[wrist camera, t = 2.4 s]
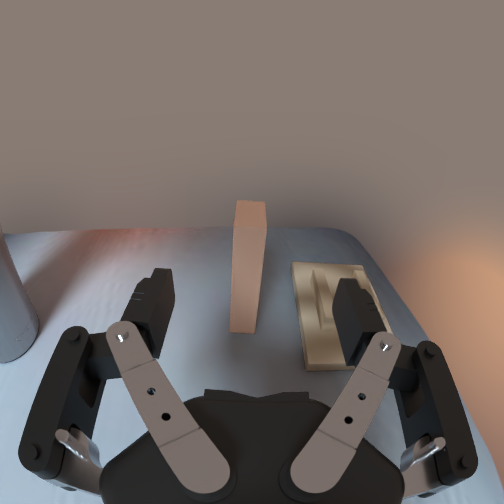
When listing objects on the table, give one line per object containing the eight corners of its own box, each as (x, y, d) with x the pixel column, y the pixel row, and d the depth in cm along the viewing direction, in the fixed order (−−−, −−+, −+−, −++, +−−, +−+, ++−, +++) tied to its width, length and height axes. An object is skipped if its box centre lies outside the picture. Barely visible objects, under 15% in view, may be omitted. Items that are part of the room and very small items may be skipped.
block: (254, 333, 28) (266, 228, 22) (229, 332, 28) (233, 226, 22) (254, 300, 33) (264, 202, 26) (232, 299, 32) (237, 200, 26)
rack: (397, 365, 25) (411, 346, 23) (305, 371, 25) (313, 350, 23) (359, 272, 38) (366, 253, 37) (290, 268, 38) (294, 248, 36)
